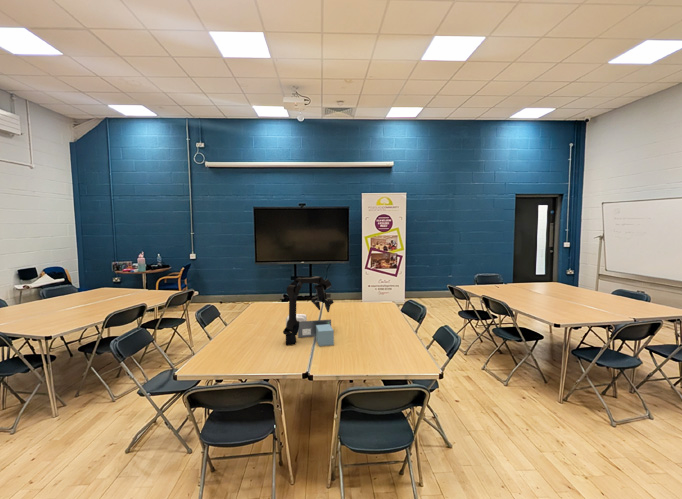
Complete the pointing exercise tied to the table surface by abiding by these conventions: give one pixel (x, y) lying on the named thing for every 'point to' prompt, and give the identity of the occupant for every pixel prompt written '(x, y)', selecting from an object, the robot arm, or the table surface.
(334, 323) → the table surface
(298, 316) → the cable organizer
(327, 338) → the pale blue box
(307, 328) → the dark grey case
